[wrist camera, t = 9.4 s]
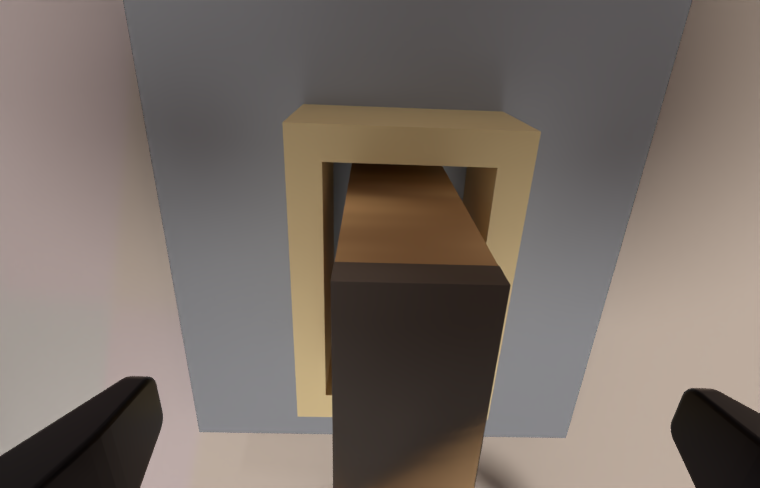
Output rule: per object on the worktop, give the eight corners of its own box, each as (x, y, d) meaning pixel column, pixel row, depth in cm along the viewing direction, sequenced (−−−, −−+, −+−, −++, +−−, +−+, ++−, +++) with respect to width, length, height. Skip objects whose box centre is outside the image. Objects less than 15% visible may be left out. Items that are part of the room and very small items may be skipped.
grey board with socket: (208, 412, 18) (165, 507, 14) (130, -73, 11) (10, -130, 7) (555, 417, 18) (602, 513, 14) (680, -46, 11) (824, -88, 8)
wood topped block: (350, 310, 15) (333, 518, 8) (352, 159, 13) (330, 281, 6) (427, 312, 15) (468, 519, 8) (441, 162, 13) (510, 285, 6)
